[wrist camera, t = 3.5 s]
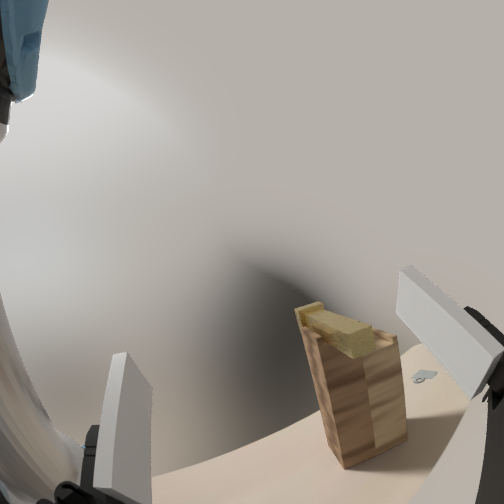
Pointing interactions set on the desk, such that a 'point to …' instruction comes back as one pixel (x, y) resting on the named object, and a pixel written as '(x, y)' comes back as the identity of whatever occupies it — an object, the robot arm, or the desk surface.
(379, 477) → the desk surface
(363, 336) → the golden wooden bar
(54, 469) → the robot arm
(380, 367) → the hinge block
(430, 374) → the mounting bracket
